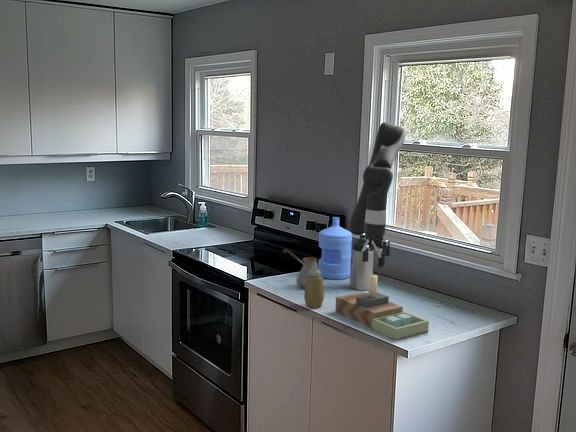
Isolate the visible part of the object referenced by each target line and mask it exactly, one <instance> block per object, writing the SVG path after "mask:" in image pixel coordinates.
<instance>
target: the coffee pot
mask: <svg viewBox="0 0 576 432" xmlns="http://www.w3.org/2000/svg"><path fill="white" fill-rule="evenodd" d="M282 252H283V253H287V254H289V255H290V256H291V257H293V258H294V259H295V260H297V261H298V262H299V263H300V264H301V265H302V267H301V269H300V272H299V273H298V275H297V278H296V280H295V281H296V284H297V286H299V287H300V288H301V289H302V290H305V286H306V278H307V276H309V271H310V270H312V267H313V263H314V262H317V261H318V259H317V258H316V257H312V256H311V257H303V258H302V260H301V259H299V257H297V256H296V255H295V254H294V252H291V250H289V249H287V248H285V249H284V250H283V251H282Z"/></svg>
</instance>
